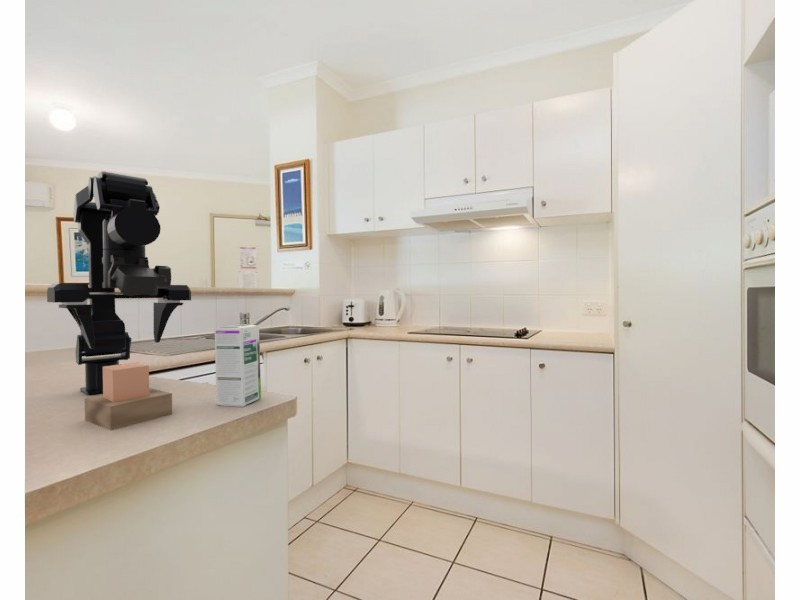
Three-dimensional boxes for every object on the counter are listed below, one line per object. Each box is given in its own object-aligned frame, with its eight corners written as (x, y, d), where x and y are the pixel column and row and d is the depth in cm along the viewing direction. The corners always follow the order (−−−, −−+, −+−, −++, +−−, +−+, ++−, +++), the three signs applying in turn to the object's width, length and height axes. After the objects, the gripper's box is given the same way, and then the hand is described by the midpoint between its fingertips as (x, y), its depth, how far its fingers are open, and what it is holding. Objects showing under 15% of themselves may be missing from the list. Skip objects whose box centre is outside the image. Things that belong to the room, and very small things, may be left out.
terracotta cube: (103, 396, 64) (102, 366, 63) (138, 390, 67) (137, 362, 67) (113, 402, 60) (112, 370, 60) (149, 395, 64) (148, 365, 64)
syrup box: (244, 407, 69) (243, 326, 69) (214, 405, 71) (213, 326, 70) (261, 398, 75) (260, 324, 75) (234, 397, 76) (233, 323, 76)
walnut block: (85, 422, 63) (84, 398, 63) (145, 408, 70) (144, 386, 70) (110, 433, 58) (110, 406, 58) (172, 416, 66) (171, 393, 66)
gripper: (62, 241, 52) (65, 357, 52) (204, 252, 66) (206, 343, 67) (45, 247, 59) (47, 350, 59) (177, 256, 73) (178, 338, 74)
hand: (126, 345), depth 64 cm, fingers open, 9 cm apart
